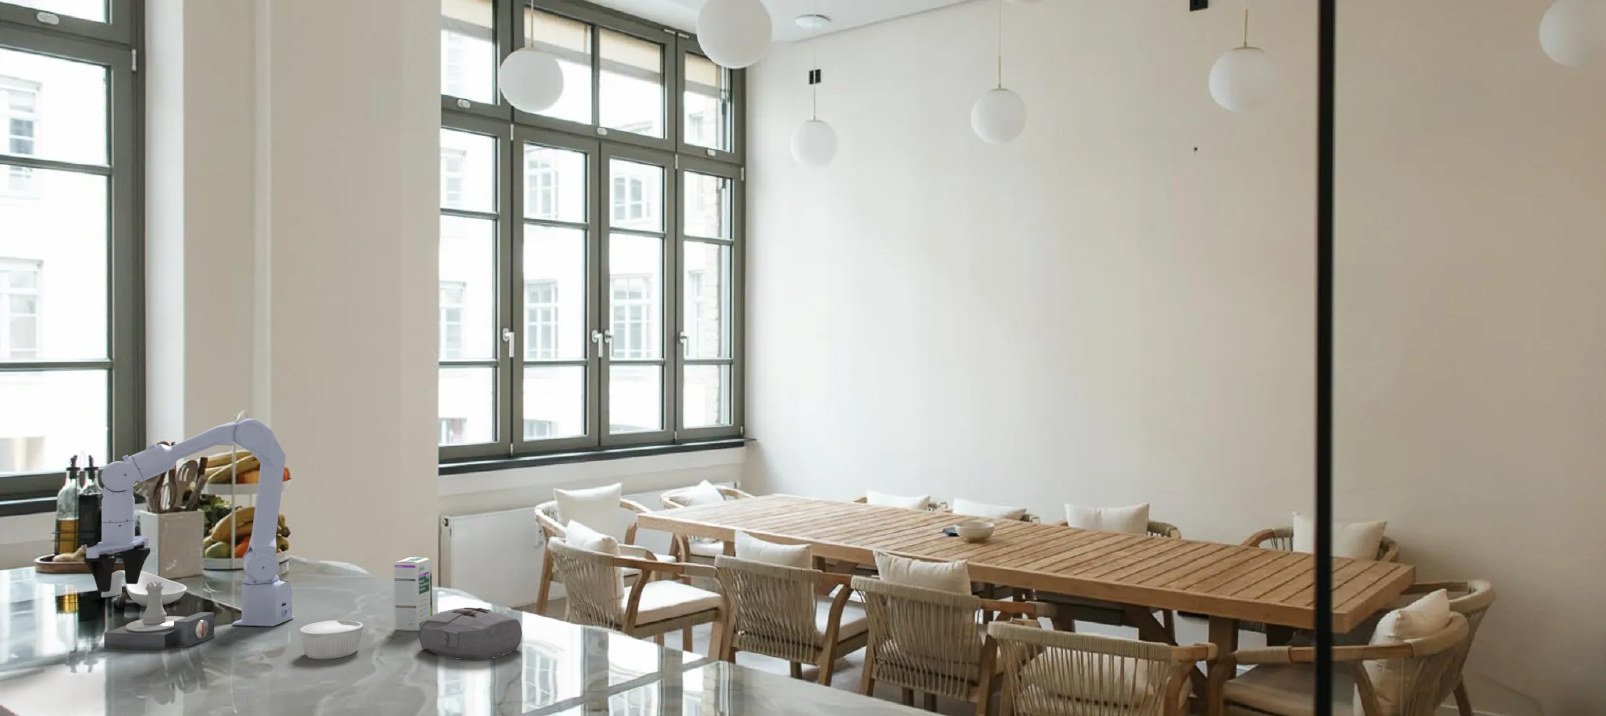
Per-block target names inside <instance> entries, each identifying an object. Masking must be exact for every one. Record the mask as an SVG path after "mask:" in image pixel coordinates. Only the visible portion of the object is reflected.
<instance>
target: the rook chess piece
mask: <svg viewBox="0 0 1606 716" xmlns="http://www.w3.org/2000/svg"><path fill="white" fill-rule="evenodd" d="M163 588H164V587H163V586H162V582H159V583H158V582H155V584H153V582H150V583H147V587H146V588H145V589H146V590H147V591H148V595H147V597H148V602H147V606H146V609H145V610H144V613H143V614H142V619H144V620H143V621H142V622H143V624H145V625H154V624H161V623H164V622H165V621H166V620H167V618H166V617H165V616H167V614H168V613H167V612H166V611H165V609H164V605H162V600H161V596H162V595H163V594H162V593H161V590H162V589H163Z"/></svg>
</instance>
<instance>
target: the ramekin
mask: <svg viewBox="0 0 1606 716" xmlns="http://www.w3.org/2000/svg"><path fill="white" fill-rule="evenodd" d="M363 629H364V624H363V623H362V622H360V621H356V620H349V619H348V620H347V619H333V620H324V621H318V622H317V621H316V622H314V623H309V624H306V625H304V626H302V627H300V628H299V636H300V637H301V643H302V649H303V653H304V655H305V656H306V657H307V658H310V659H313V660H314V659H315V660H331V659H339V658H344V657H347V656H351V655H354V654H356V652H357V650H359V648H360V647H359V646H360V641H361V636H362V631H363Z"/></svg>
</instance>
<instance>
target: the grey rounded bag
mask: <svg viewBox="0 0 1606 716" xmlns="http://www.w3.org/2000/svg"><path fill="white" fill-rule="evenodd" d="M521 625H522V624H520V621H519V620H518V619H517V618H514V617H512V616H509V615H506V614H503V613H499V612H496V611H492V610H491V609H485V608H482V607H461V608H454V609H448V610H444V611H440V612H438V613H435V614H432V616H431V617H429V618H428V619H427V620H426V621H424V622H423V624H422V625H421V627H420V630H419V631H418V634H417V637H418V639H419V643H420V646H421V649H422V650H428V651H430V652H431V653H433V654H434V655H438V656H442V657H445V658H449V657H451V658H450V659H456V658H459V659H458V660H464V659H469V660H473V661H474V660H475V661H476V660H484V661H485V660H492V659H491V658H493V657H496V658H499V657H498V656H500V657H502V656H501V655H503V654H506V655H508V654H510V653H509V652H511V651H513V650H514V651H515V650H517V649H518V648H519V645H520V643H522V635H523V632H522V626H521ZM514 651H513V652H514ZM507 653H508V654H507ZM511 653H512V652H511ZM503 656H504V655H503ZM493 659H494V658H493ZM469 660H468V661H469Z"/></svg>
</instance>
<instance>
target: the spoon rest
mask: <svg viewBox="0 0 1606 716" xmlns="http://www.w3.org/2000/svg"><path fill="white" fill-rule="evenodd" d="M124 578H125V570H116V571H114V572H112V579H111V588H110V591H109V592H100V596H101V598H111V597H115V596H121V595H122V593H123V591H122V590H123V589H122V588H123V587H122V586H123V585H122V584H123V579H124ZM150 582H153V584H155V582H158V583H159V582H162V586H163V587H164V588H163V589H162V590H161V593H162V594H163V595H162V596H161V600H162V606H166V605H170V604H172V603H174V602H176V601H177V600H179V599H180V598H182V596H184V594H185V593H186V592H187V590H188V588H187V586H186V585H185V584H183V583H180V582H176V581H173V580H170V579H167V578H164V577H161V576H158V575H155V574H153V573H150V572H147V571H144V570H141V573H140V576H139V580H138V583H137V584H126V580H125V579H124V584H125V589H126V591H127V594H128V596H129V598H131V599H132V601H133V602H135V603H136V604H138V605H140V606H141V607H147V602H148V597H147V595H148V591H147V590H146V589H145V588H146V587H147V583H150Z"/></svg>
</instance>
